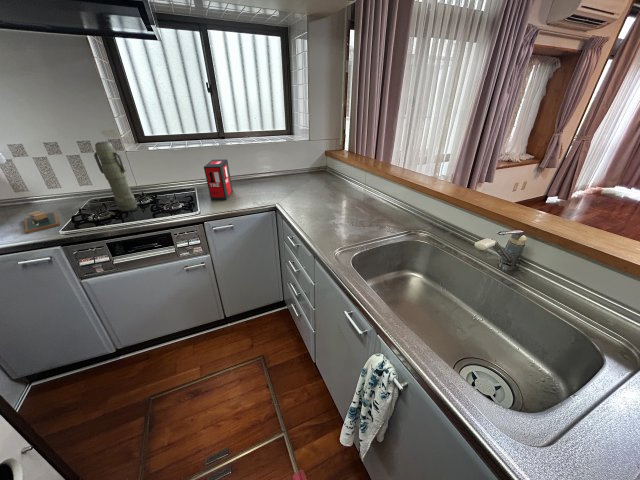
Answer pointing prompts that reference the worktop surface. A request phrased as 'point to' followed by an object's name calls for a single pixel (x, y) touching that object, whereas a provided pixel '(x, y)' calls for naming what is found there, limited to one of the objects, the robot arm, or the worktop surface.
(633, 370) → the worktop surface
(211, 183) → the cleaning product box
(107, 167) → the thermos
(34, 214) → the eraser
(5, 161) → the robot arm
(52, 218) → the board
